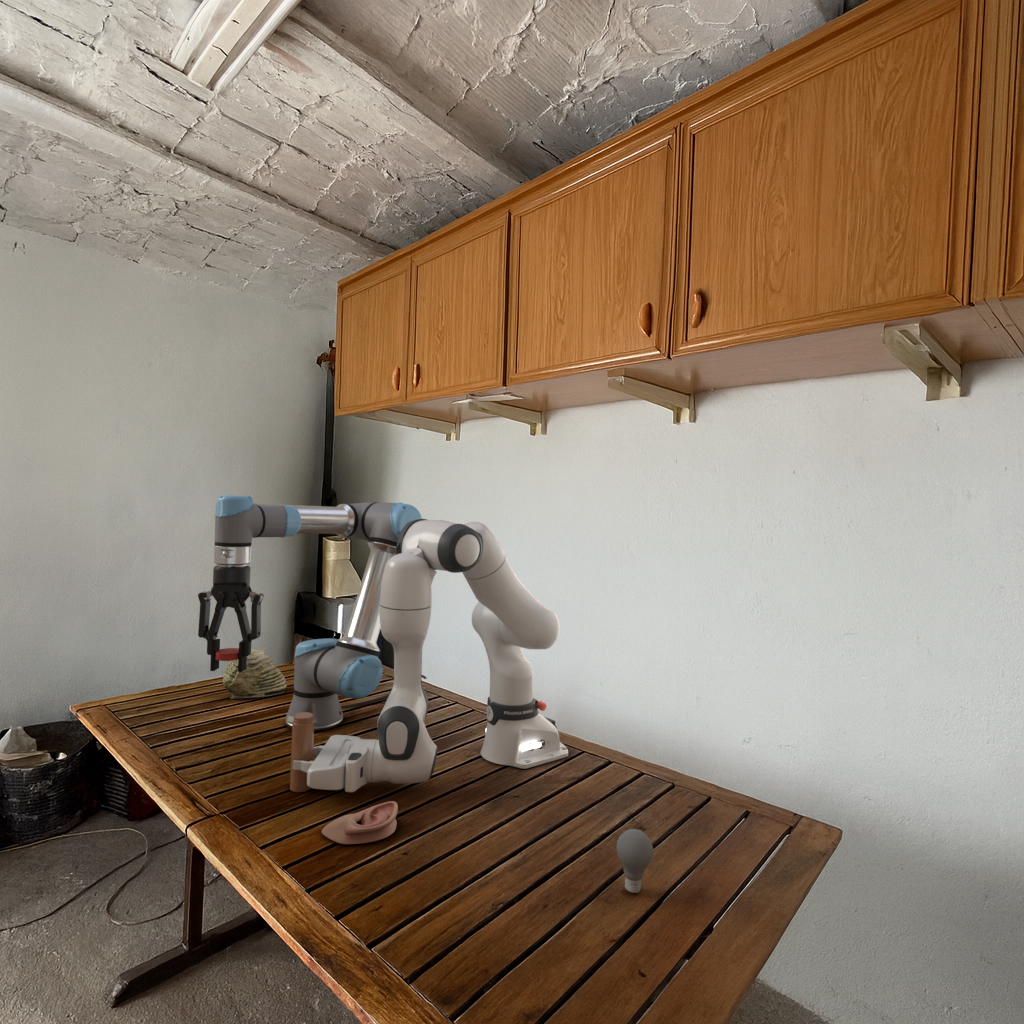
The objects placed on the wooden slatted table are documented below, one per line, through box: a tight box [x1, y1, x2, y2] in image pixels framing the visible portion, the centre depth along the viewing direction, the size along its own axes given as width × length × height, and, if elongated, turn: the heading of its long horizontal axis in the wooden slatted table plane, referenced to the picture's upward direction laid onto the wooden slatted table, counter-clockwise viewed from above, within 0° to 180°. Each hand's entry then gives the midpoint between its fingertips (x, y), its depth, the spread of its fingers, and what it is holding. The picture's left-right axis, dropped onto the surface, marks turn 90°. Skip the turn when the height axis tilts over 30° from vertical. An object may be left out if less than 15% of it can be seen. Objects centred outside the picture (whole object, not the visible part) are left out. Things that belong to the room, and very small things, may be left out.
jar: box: [289, 712, 315, 793], centre depth 137 cm, size 5×5×16 cm
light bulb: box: [615, 828, 654, 894], centre depth 106 cm, size 6×6×10 cm
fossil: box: [222, 646, 288, 699], centre depth 198 cm, size 9×18×15 cm, turn 132°
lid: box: [215, 647, 239, 662], centre depth 140 cm, size 5×5×2 cm
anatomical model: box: [321, 800, 399, 845], centre depth 121 cm, size 13×4×12 cm
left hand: (228, 669), depth 140 cm, fingers closed on lid, 5 cm apart
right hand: (297, 758), depth 137 cm, fingers closed on jar, 4 cm apart
